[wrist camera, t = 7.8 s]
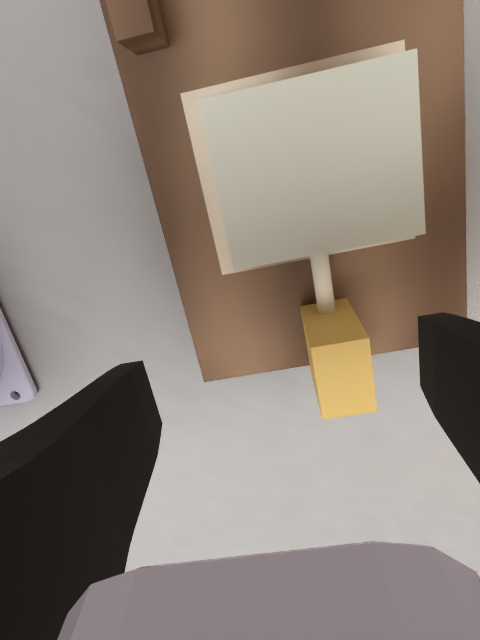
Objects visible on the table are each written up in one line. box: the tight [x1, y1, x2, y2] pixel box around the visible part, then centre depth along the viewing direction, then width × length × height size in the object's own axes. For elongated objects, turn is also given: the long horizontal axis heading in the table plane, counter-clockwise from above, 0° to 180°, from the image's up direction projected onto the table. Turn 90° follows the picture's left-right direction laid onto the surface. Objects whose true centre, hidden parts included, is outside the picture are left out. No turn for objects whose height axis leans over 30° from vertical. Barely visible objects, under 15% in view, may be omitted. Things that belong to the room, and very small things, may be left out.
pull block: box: [197, 48, 426, 420], centre depth 16 cm, size 6×11×4 cm, turn 12°
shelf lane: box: [100, 0, 467, 382], centre depth 15 cm, size 12×22×4 cm, turn 12°
